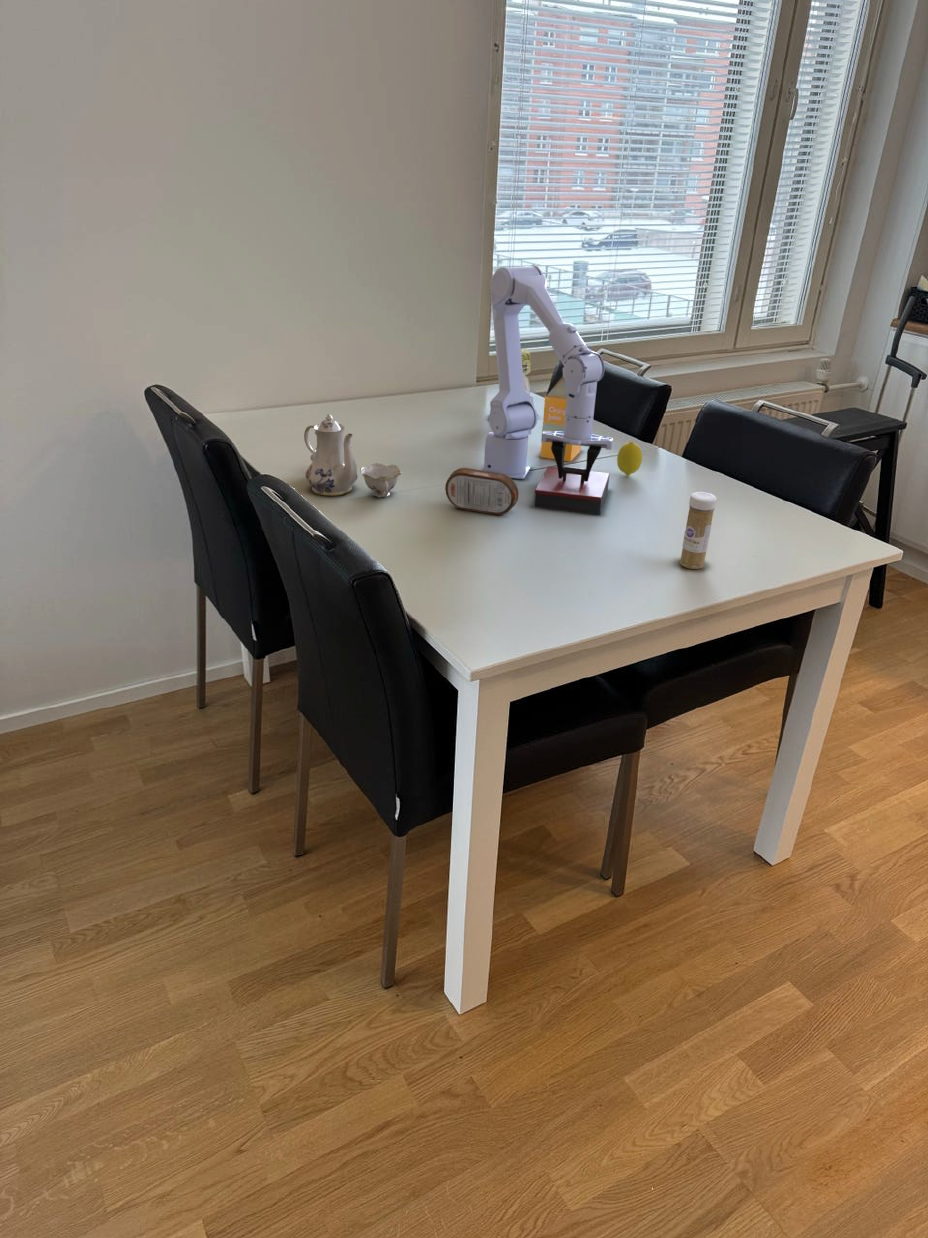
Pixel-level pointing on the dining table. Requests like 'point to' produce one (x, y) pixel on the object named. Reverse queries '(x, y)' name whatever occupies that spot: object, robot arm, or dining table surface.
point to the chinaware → (342, 464)
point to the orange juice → (556, 420)
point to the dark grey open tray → (570, 503)
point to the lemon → (629, 458)
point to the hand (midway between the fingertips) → (573, 478)
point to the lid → (573, 483)
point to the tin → (481, 491)
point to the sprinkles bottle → (697, 530)
